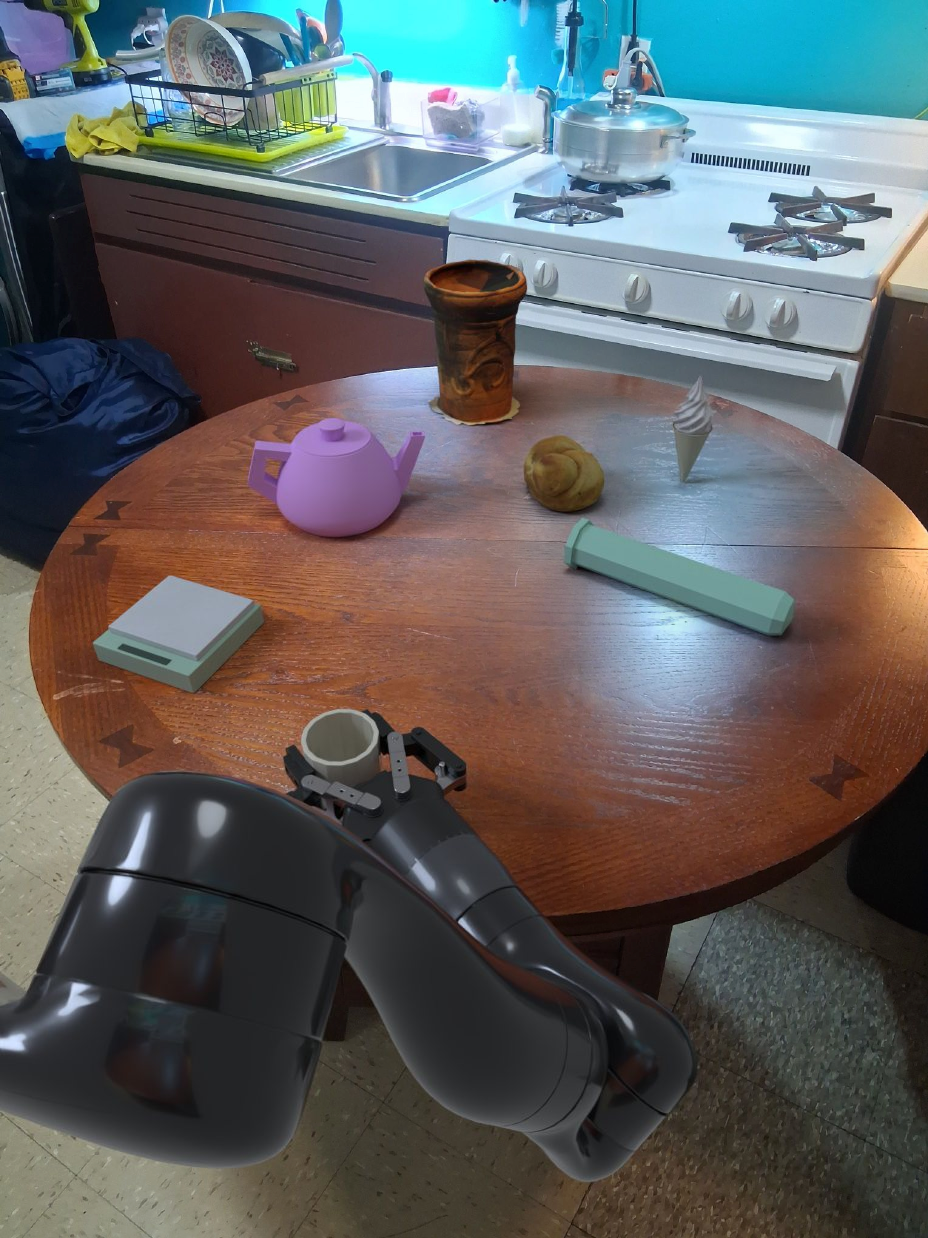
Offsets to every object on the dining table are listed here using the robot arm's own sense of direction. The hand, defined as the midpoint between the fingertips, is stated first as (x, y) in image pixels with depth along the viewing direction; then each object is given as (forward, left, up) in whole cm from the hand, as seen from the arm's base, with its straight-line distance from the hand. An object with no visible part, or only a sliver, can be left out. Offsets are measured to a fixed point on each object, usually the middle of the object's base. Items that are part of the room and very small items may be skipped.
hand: (327, 735), depth 71 cm
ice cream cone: (+64, -15, -7) cm, 66 cm away
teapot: (+40, +23, -7) cm, 46 cm away
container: (+39, -20, -7) cm, 44 cm away
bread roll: (+55, -1, -7) cm, 55 cm away
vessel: (+73, +19, -7) cm, 76 cm away
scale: (+11, +25, -7) cm, 28 cm away
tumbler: (-1, -2, -7) cm, 7 cm away
